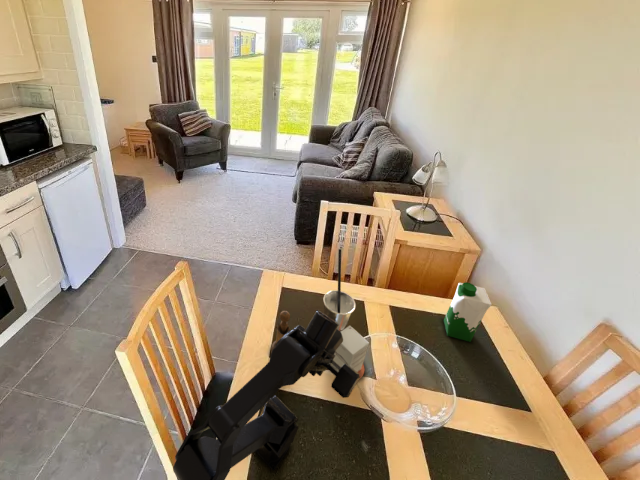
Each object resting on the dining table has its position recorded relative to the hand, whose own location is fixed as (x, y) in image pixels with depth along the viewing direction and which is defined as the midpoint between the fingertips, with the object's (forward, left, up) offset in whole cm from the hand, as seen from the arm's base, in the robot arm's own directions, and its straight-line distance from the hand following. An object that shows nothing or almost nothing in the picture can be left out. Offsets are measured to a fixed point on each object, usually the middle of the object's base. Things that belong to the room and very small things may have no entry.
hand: (331, 359), depth 85 cm
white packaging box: (+10, -1, -13) cm, 16 cm away
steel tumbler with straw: (+18, +8, -13) cm, 24 cm away
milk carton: (+49, -24, -13) cm, 56 cm away
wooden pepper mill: (0, +16, -13) cm, 21 cm away
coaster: (+11, -2, -13) cm, 17 cm away
